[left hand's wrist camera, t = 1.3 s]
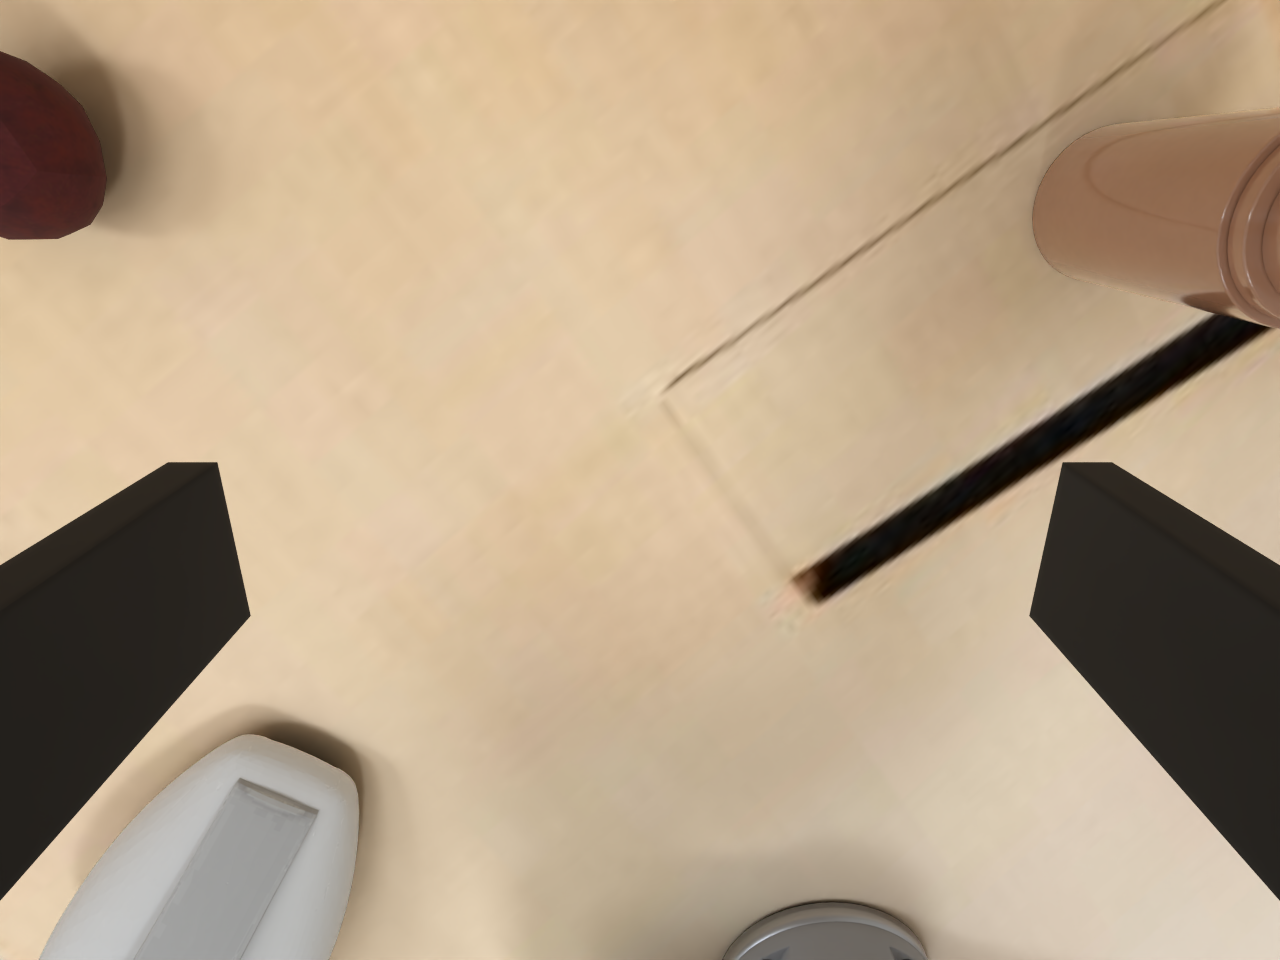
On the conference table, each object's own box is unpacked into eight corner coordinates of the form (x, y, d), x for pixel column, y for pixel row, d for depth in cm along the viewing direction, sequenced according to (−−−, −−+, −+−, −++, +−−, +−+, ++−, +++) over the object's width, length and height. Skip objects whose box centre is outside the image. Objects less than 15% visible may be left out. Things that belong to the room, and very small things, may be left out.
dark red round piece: (46, 21, 34) (-96, -15, 27) (177, 179, 36) (75, 181, 30) (-62, 124, 35) (-221, 112, 29) (71, 269, 38) (-49, 289, 31)
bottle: (1004, 250, 38) (1312, 316, 20) (1084, 98, 35) (1511, 27, 18) (1128, 302, 38) (1524, 406, 21) (1215, 157, 36) (1742, 143, 19)
